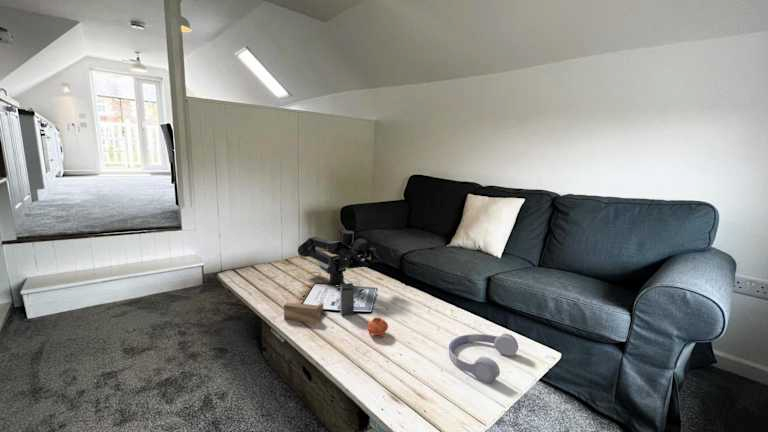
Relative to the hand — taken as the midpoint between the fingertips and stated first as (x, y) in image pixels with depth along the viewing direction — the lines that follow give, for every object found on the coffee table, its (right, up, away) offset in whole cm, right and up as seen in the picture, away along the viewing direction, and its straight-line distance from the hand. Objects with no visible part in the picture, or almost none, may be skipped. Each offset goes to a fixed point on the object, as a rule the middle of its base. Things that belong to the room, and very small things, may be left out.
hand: (375, 263), depth 158 cm
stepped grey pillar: (-12, -19, -14) cm, 26 cm away
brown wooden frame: (-28, -19, -15) cm, 37 cm away
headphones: (+36, -26, -43) cm, 62 cm away
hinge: (-29, -9, +41) cm, 52 cm away
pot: (+2, -23, -30) cm, 38 cm away
